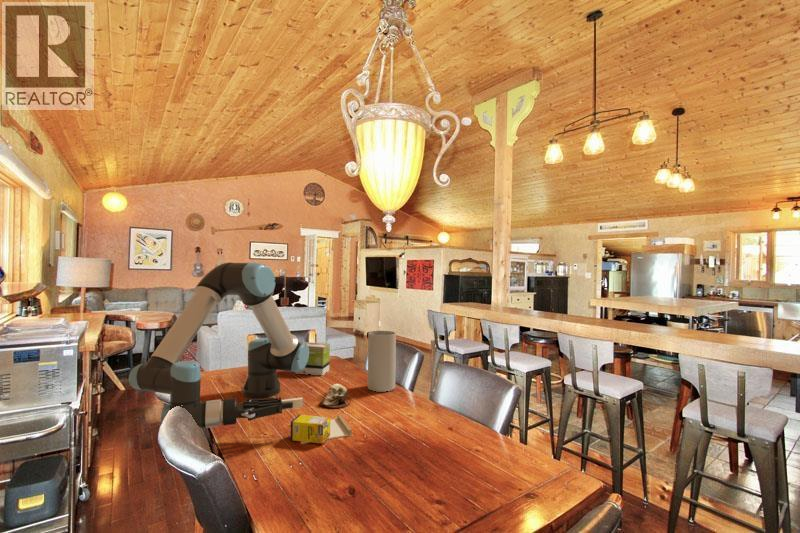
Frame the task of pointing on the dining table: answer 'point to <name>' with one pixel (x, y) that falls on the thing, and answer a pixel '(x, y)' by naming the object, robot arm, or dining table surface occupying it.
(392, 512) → the dining table surface
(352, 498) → the dining table surface
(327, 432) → the supplement box
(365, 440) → the dining table surface
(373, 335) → the cylinder vase
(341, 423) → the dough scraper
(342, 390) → the skull
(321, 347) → the tea box
